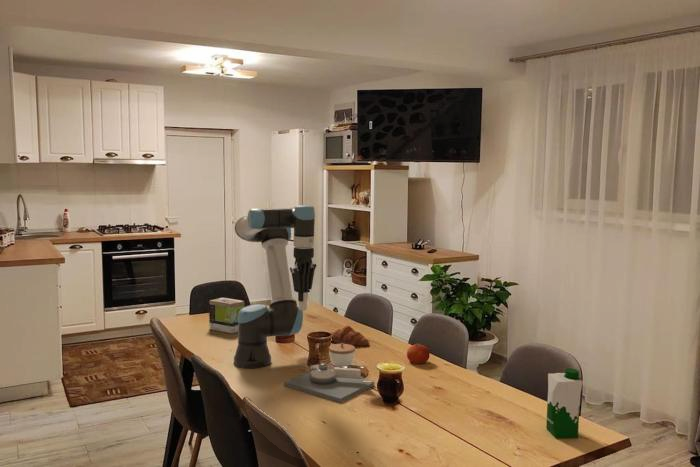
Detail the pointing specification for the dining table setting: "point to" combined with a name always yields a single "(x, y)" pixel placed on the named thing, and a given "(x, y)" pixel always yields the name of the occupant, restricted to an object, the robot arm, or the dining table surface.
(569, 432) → the milk carton
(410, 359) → the tomato
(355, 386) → the base plate
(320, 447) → the dining table surface
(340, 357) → the lidded jar
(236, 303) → the tea box
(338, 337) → the pastry
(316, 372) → the grey saucepan
